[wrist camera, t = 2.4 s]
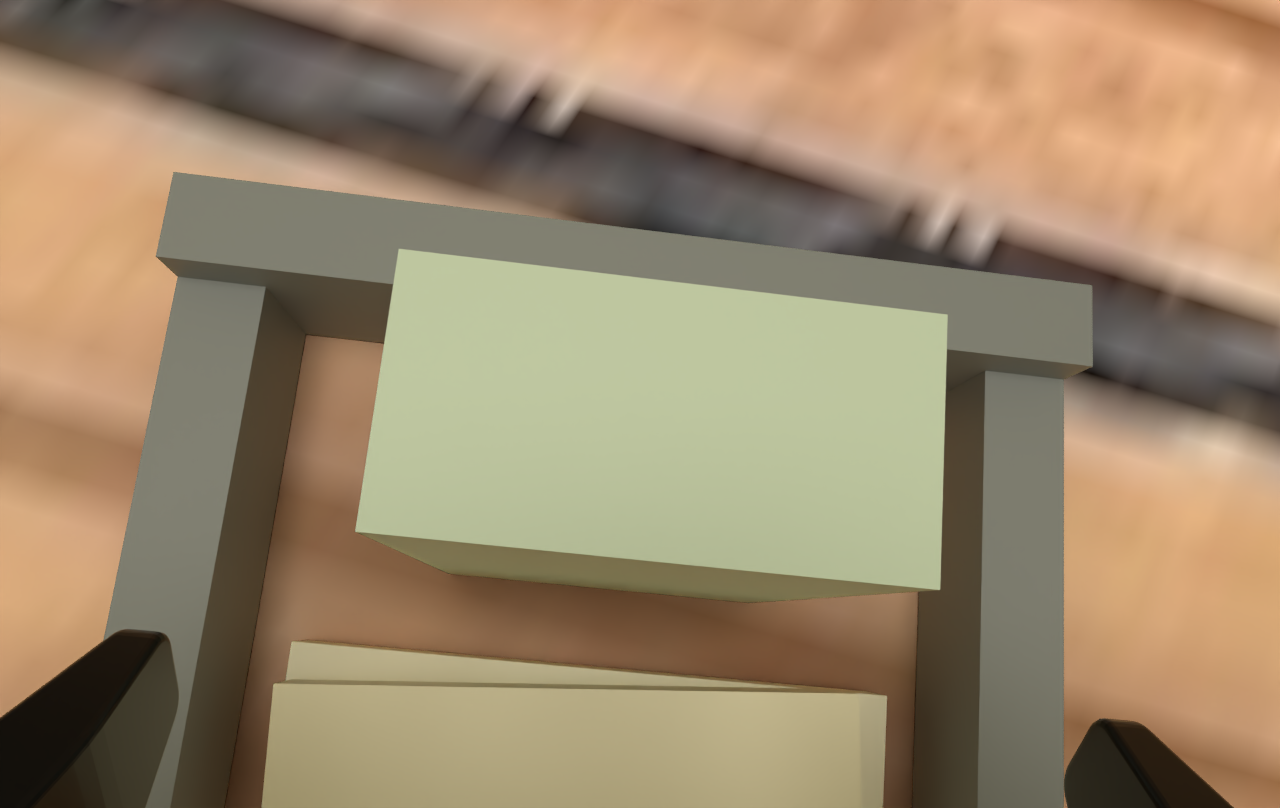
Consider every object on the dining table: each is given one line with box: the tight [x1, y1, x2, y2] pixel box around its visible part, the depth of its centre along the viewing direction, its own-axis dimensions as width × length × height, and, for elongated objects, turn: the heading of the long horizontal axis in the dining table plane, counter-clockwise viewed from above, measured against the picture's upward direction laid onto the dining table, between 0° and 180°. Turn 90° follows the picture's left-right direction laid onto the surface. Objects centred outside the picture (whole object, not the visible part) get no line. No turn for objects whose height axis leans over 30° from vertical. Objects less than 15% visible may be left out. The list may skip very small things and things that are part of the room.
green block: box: [355, 249, 948, 603], centre depth 15 cm, size 3×6×10 cm, turn 85°
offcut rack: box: [104, 172, 1093, 808], centre depth 18 cm, size 11×16×4 cm
